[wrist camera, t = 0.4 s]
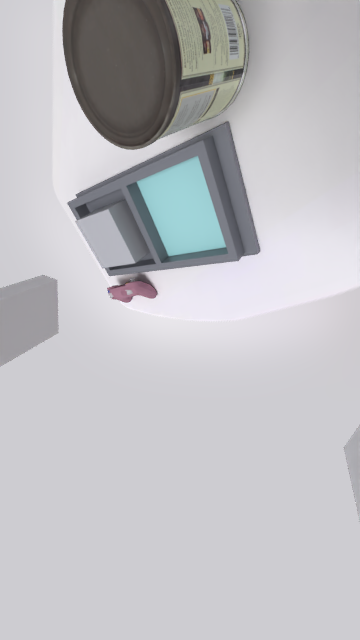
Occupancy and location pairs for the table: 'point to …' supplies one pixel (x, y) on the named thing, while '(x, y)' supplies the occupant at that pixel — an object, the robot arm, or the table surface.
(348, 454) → the robot arm
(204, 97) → the coffee can
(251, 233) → the grey compartment tray
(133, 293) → the video game controller
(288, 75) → the table surface
